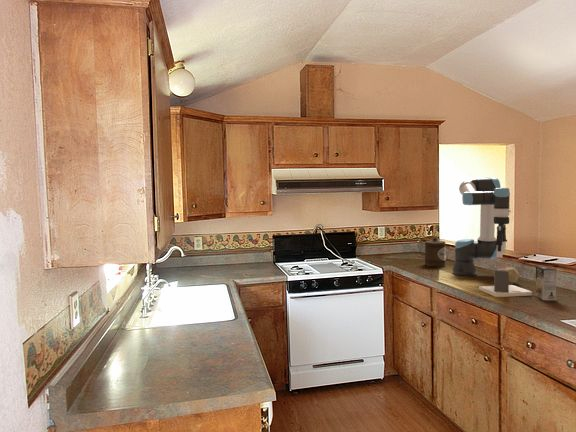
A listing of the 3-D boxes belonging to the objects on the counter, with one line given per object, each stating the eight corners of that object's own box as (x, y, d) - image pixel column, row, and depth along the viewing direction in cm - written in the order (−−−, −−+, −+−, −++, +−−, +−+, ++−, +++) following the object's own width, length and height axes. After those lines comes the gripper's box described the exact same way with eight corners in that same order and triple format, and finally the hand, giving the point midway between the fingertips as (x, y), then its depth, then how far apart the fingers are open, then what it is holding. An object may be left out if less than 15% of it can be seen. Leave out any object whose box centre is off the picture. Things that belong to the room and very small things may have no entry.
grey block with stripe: (494, 291, 214) (494, 269, 214) (494, 288, 220) (494, 267, 219) (508, 292, 211) (508, 270, 211) (507, 289, 217) (507, 268, 217)
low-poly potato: (516, 282, 245) (498, 271, 251) (525, 268, 239) (505, 258, 245) (508, 293, 235) (489, 282, 241) (517, 279, 229) (497, 268, 235)
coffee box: (534, 295, 211) (535, 265, 210) (548, 296, 210) (548, 265, 209) (542, 300, 202) (543, 269, 201) (556, 300, 201) (556, 269, 200)
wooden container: (443, 267, 295) (443, 238, 293) (423, 266, 302) (423, 237, 301) (446, 264, 307) (446, 235, 306) (426, 263, 315) (426, 235, 314)
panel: (479, 289, 226) (479, 277, 226) (512, 288, 228) (512, 276, 227) (496, 297, 210) (496, 283, 210) (531, 295, 212) (532, 282, 212)
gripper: (506, 218, 202) (506, 259, 204) (511, 214, 223) (511, 252, 224) (490, 218, 207) (490, 258, 208) (496, 214, 227) (496, 251, 229)
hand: (501, 255), depth 216 cm, fingers open, 13 cm apart
